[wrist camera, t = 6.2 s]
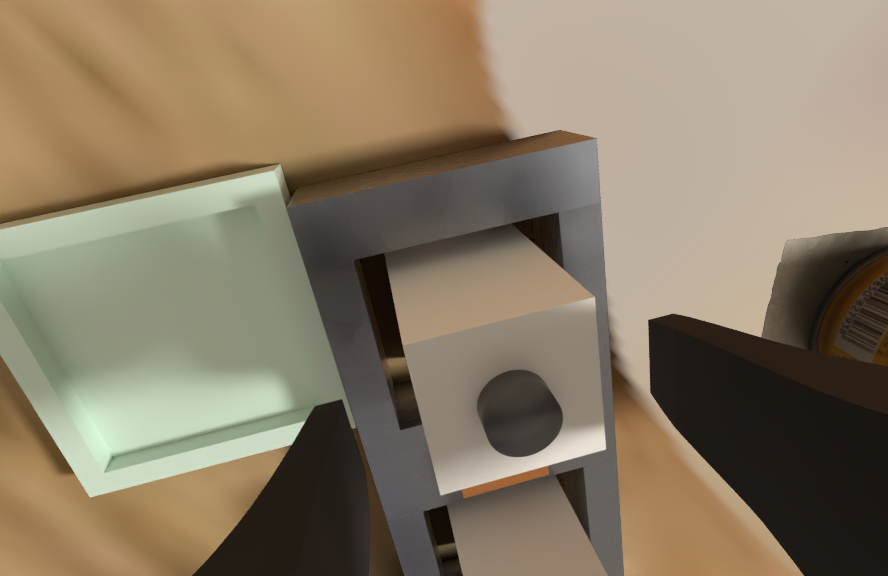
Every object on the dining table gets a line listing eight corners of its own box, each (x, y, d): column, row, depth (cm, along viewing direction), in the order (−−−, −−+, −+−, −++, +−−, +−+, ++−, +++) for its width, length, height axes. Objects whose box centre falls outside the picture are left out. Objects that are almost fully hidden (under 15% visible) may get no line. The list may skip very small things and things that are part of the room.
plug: (521, 328, 18) (622, 473, 11) (410, 356, 17) (446, 523, 11) (506, 219, 16) (613, 313, 10) (383, 247, 16) (406, 366, 9)
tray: (356, 406, 18) (356, 427, 17) (106, 470, 17) (89, 497, 16) (280, 164, 14) (274, 170, 13) (-36, 231, 14) (-70, 244, 12)
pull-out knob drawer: (548, 516, 21) (636, 709, 15) (456, 542, 21) (505, 752, 14) (538, 442, 20) (631, 621, 13) (438, 469, 19) (483, 667, 13)
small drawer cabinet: (597, 545, 22) (634, 614, 20) (422, 596, 22) (432, 676, 19) (560, 130, 15) (609, 141, 12) (296, 187, 15) (283, 213, 12)
